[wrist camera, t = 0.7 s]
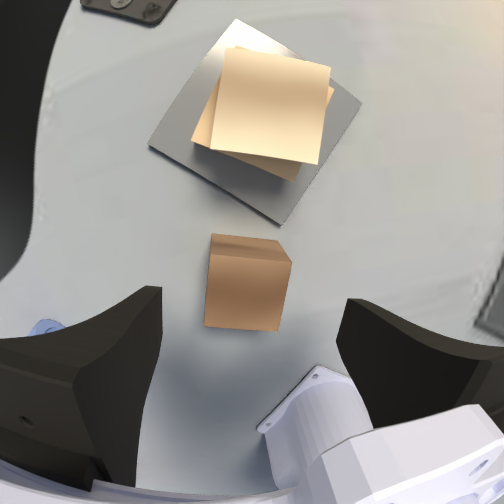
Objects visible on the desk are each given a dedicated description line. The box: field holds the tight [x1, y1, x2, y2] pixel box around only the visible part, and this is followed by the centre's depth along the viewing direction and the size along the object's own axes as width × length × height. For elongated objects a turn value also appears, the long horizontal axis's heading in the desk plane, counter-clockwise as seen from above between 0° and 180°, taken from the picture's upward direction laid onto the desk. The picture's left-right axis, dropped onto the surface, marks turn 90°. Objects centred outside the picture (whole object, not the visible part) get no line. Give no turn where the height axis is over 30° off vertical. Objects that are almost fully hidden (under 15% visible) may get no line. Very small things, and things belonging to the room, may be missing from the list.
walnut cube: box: [204, 233, 292, 331], centre depth 19 cm, size 4×4×4 cm
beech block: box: [210, 47, 331, 165], centre depth 14 cm, size 5×5×2 cm
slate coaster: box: [147, 19, 362, 225], centre depth 18 cm, size 10×10×1 cm
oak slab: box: [191, 45, 334, 183], centre depth 16 cm, size 6×6×2 cm
